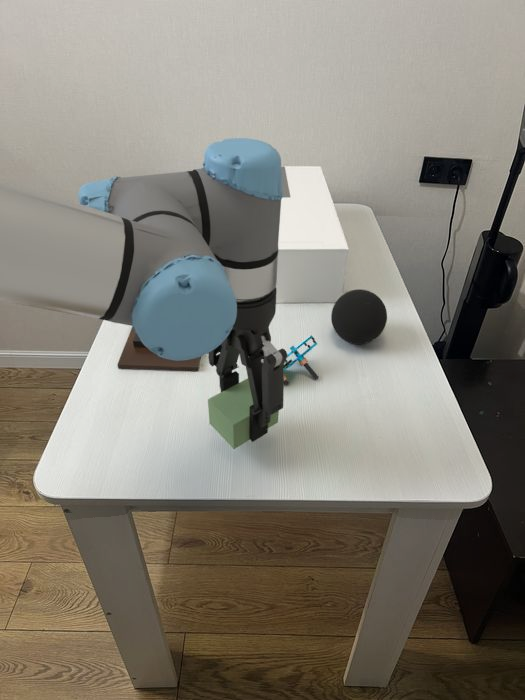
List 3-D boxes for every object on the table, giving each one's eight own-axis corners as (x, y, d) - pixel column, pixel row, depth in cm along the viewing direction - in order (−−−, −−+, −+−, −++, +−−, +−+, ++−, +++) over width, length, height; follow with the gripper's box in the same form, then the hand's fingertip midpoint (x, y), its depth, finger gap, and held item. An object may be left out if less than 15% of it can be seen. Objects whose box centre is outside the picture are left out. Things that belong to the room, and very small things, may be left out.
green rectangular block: (233, 449, 67) (233, 425, 64) (209, 423, 71) (207, 399, 67) (278, 422, 71) (279, 398, 68) (252, 399, 75) (253, 375, 71)
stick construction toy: (302, 338, 89) (315, 327, 81) (326, 368, 89) (341, 359, 81) (252, 378, 85) (260, 370, 78) (277, 409, 85) (288, 405, 78)
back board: (198, 371, 85) (196, 360, 84) (118, 368, 85) (115, 358, 84) (212, 300, 102) (211, 290, 100) (145, 298, 102) (144, 288, 101)
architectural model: (241, 210, 135) (240, 165, 127) (316, 210, 136) (320, 165, 128) (241, 303, 101) (240, 249, 93) (341, 302, 102) (349, 248, 94)
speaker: (319, 328, 95) (324, 284, 88) (364, 318, 98) (372, 274, 91) (344, 360, 88) (351, 315, 81) (392, 348, 91) (402, 303, 84)
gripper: (325, 312, 52) (307, 450, 67) (222, 244, 63) (226, 375, 78) (271, 339, 48) (265, 478, 63) (172, 261, 60) (186, 395, 74)
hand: (244, 421), depth 71 cm, fingers closed on green rectangular block, 6 cm apart
